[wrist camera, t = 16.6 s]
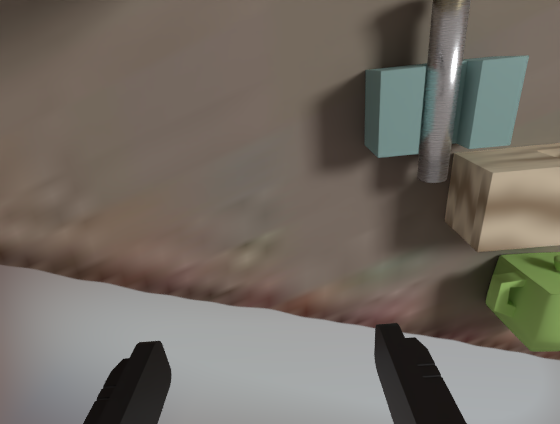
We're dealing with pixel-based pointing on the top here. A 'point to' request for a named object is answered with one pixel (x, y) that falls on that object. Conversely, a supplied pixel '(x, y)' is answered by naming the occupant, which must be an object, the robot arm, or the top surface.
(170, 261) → the top surface
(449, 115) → the axle
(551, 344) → the green cube pot
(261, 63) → the top surface
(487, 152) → the beam
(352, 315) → the top surface
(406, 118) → the v block
